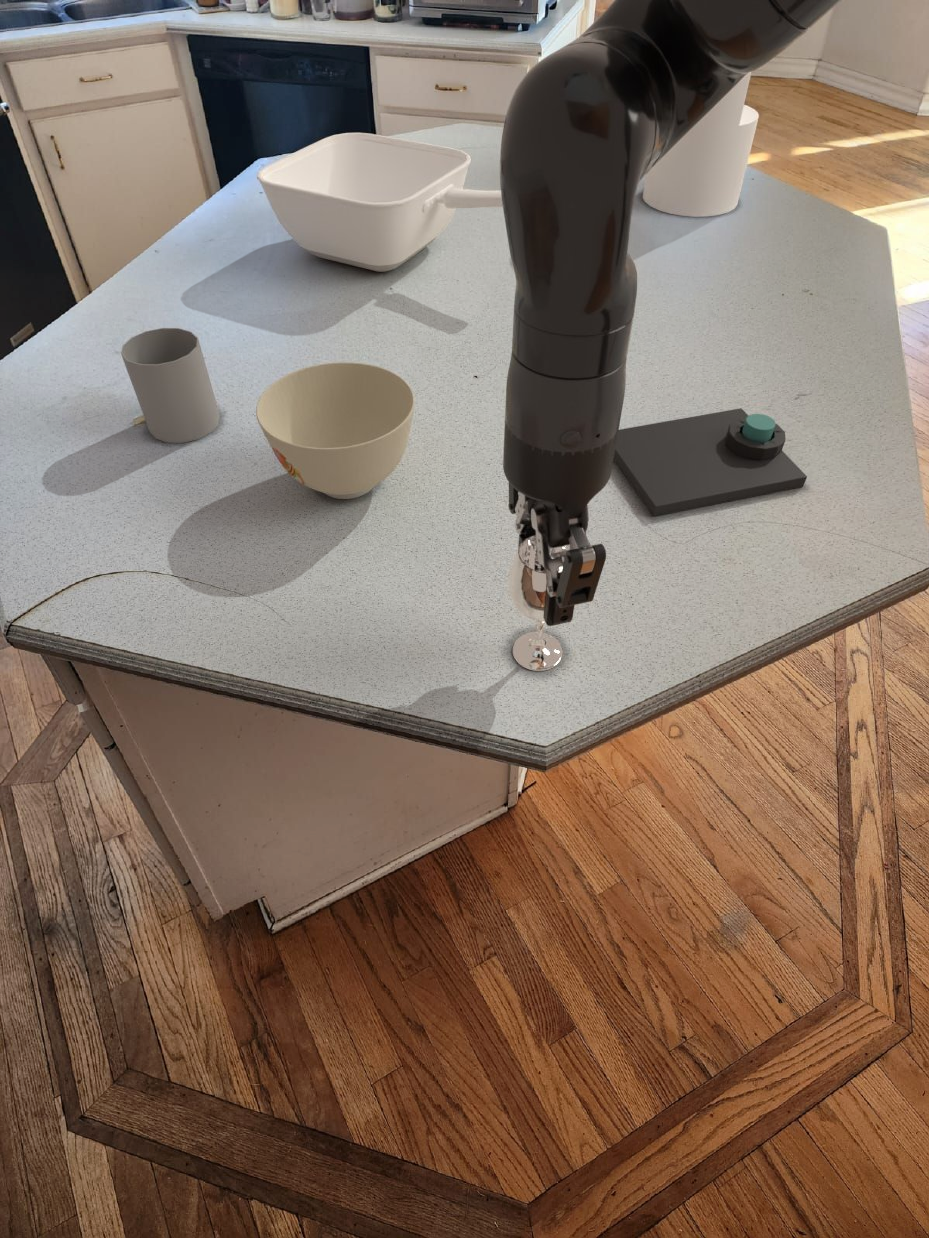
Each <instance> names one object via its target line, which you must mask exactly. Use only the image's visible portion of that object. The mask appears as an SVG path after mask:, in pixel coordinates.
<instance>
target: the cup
mask: <svg viewBox="0 0 929 1238" xmlns="http://www.w3.org/2000/svg"><path fill="white" fill-rule="evenodd" d="M120 355H121V358H122V360H123V363H124V366H125V368H126V372H127V374H128V377H129V379H130V383H131V385H132V389H133V391H134V393H135V396H136V399H137V402H138V404H139V407H140V410H141V412H142V415H143V417H144V421H145V422H146V426H147V429H148V431H149V433H150V434H151V436H152V437H153V438H154V439H156V440H158V441H161V442H165V443H167V444H184V443H188V442H193V441H197V440H201V439H202V438H204V437H206V436H208V435H210V434H211V433H213V432H214V431H215V429H216V428H217V427H218V426H219V425H220V422H221V421H220V419H221V418H220V417H221V416H220V411H219V407H218V404H217V400H216V397H215V392H214V389H213V386H212V382H211V378H210V374H209V372H208V369H207V364H206V360H205V357H204V354H203V351H202V346H201V343H200V340H199V337H197V336H196V335H195V333H193V332H192V331H191V330H186V329H183V328H180V327H161V328H156V329H155V328H154V329H150V330H146V331H143V332H141V333H139V334H136V335H134V336H132V337H130V339H128V340H127V341H126V342H125V343H123V345H122V347H121V352H120Z"/></svg>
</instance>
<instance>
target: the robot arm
mask: <svg viewBox="0 0 929 1238" xmlns="http://www.w3.org/2000/svg"><path fill="white" fill-rule="evenodd" d="M841 1H842V0H613V2H611V4H610V5H608V7H607V8H606V9H605V10H604V11H603V12H602V14H600V16H598V17H597V19H595V21H594V22H593V23H592V24H591V25H590V26H589V27H588V28H587V29H585V31H584V32H583V33H582V34H581V35H580V36H579V37H577V38H575V39H573V40H572V41H571V42H569V43H567V44H566V45H564V46H562V47H561V48H559V49H558V50H556V51H553V52H552V53H550V54H549V55H547V56H545V57H544V58H543V59H541V60H540V61H538V62H537V63H536V64H534V65H533V66H532V68H530V69H529V70H528V72H526V74H525V75H524V77H523V78H522V79H521V81H520V82H519V83H518V85H517V87H516V88H515V91H514V93H513V95H512V97H511V99H510V102H509V105H508V106H507V107H508V108H507V111H506V115H505V119H504V123H503V128H502V135H501V143H500V152H499V153H500V154H499V187H500V190H501V197H502V204H503V207H502V211H503V216H504V217H503V218H504V223H505V229H506V237H507V243H508V249H509V255H510V260H511V265H512V268H513V271H514V276H515V289H514V300H513V301H514V302H513V319H512V340H511V341H512V342H511V355H510V361H509V366H508V369H507V377H506V387H505V405H504V407H505V409H504V434H503V436H504V437H503V454H502V455H503V456H502V467H503V469H502V470H503V473H504V476H505V478H506V479H507V481H508V506H507V507H508V510H509V511H510V514H511V515H516V518H515V521H514V522H515V523H514V528H515V530H516V532H517V534H518V545H517V546H518V547H517V549H518V548H519V546H520V544H521V543H522V542H523V541H524V540H525V539H526V538H528V537H530V536H532V535H535V534H536V541H537V552H538V561H539V563H540V564H541V565H542V566H543V567H544V568H545V570H546V583H547V589H546V598H545V607H544V616H543V618H544V620H545V624H546V626H547V627H553V626H558V625H562V624H567V623H571V622H572V620H573V617H574V610H575V606H577V605H582V604H586V603H590V602H593V601H594V597H595V594H596V592H597V589H598V584H599V582H600V579H601V575H602V572H603V570H604V566H605V563H606V559H607V551H606V548H605V546H604V544H603V543H597V544H593V545H591V542H590V540H589V538H588V536H587V531H588V528H589V520H590V519H589V517H590V516H589V505H588V504H589V503H590V502H591V501H592V500H593V499H594V497H596V496H597V495H598V494H599V493H600V492H601V491H603V489H604V488H605V487H606V486H607V484H608V483H609V482H610V479H611V475H612V470H613V466H614V465H613V464H614V453H615V448H616V442H617V436H618V430H620V424H621V419H622V412H623V407H624V400H625V395H626V385H627V384H626V383H627V372H626V371H627V360H628V352H629V346H630V340H631V336H632V335H631V334H632V330H633V324H634V317H635V309H636V303H637V294H638V272H637V271H638V270H637V268H636V264H635V262H634V260H633V258H632V256H631V255H630V254H629V253H628V250H629V243H630V242H629V240H630V232H631V231H630V230H631V223H632V222H631V221H632V215H633V214H632V213H633V208H634V203H635V198H636V195H637V191H638V187H639V183H640V182H641V181H642V179H644V177H646V174H647V173H648V172H649V171H650V170H651V169H652V167H653V166H654V165H655V164H656V163H657V162H658V161H659V160H660V159H661V158H662V157H663V156H664V155H665V154H666V153H667V152H668V151H669V150H670V149H671V148H672V147H673V146H674V145H675V144H676V143H677V142H678V141H679V140H680V139H681V138H682V137H683V136H684V135H685V134H686V133H687V132H688V131H689V130H691V129H692V128H693V127H694V126H695V125H696V124H697V123H698V122H699V121H700V120H701V119H702V118H703V117H704V116H705V115H706V114H707V113H708V112H709V111H710V110H711V109H712V108H713V107H714V106H715V105H716V104H717V103H718V102H719V101H720V100H721V99H722V98H723V97H724V96H725V95H726V94H727V93H728V92H729V91H730V90H731V89H732V88H733V87H734V86H735V85H736V84H737V83H738V82H739V81H740V80H741V79H742V78H743V77H744V76H745V75H746V74H747V73H749V72H751V73H752V72H755V71H756V70H758V69H760V68H761V67H763V66H765V65H767V64H768V63H769V62H770V61H772V60H773V59H774V58H776V57H777V56H779V55H780V54H781V53H783V52H784V51H785V50H786V49H788V48H789V47H790V46H791V45H793V44H794V43H795V42H796V41H798V40H799V39H800V38H801V37H802V36H803V35H804V34H806V33H807V31H809V29H811V28H812V27H813V26H814V25H815V24H816V23H817V22H819V21H820V20H821V19H822V18H823V17H824V16H825V15H827V13H829V12H830V11H831V10H832V9H833V8H834V7H836V6H837V5H838V4H839V3H841ZM566 545H570V550H566V551H562V552H557V553H552V554H549V547H551V548H556V547H561V546H566ZM559 567H562V571H561V575H560V579H557V569H558V568H559Z"/></svg>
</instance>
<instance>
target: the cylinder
mask: <svg viewBox="0 0 929 1238" xmlns="http://www.w3.org/2000/svg"><path fill="white" fill-rule="evenodd" d="M751 77H752V72H749V73H747V74H746V75H745V76H744V77H743V78H742V79H741V80H740V81H739V82H738V83H737V84H736V85H735V86H734V87H733V88H732V89H731V90H730V91H729V92H728V93H727V94H726V95H725V96H724V97H723V98H722V99H721V100H720V101H719V102H718V103H717V104H716V105H715V106H714V107H713V108H712V109H711V110H710V111H709V112H708V113H707V114H706V115H705V116H704V117H703V118H702V119H701V120H700V121H699V122H698V123H697V124H696V125H695V126H694V127H693V128H692V129H691V130H689V131H688V132H687V133H686V134H685V135H684V136H683V137H682V138H681V139H680V140H679V141H678V142H677V143H676V144H675V145H674V146H673V147H672V148H671V149H670V150H669V151H668V152H667V153H666V154H665V155H664V156H663V157H662V158H661V159H660V160H659V161H658V162H657V163H656V164H655V165H654V166H653V167H652V169H651V170H650V171H649V172H648V173H647V174H646V175H645V181H644V185H643V193H642V199H643V201H644V203H646V204H647V205H648V206H649V207H651V208H653V209H655V210H658V211H659V212H662V213H663V212H664V213H666V214H670V215H676V216H680V217H691V218H692V217H693V218H699V217H704V218H705V217H715V216H721V215H723V214H728V213H730V212H731V211H733V210H735V209H736V208H737V206H738V203H739V199H740V195H741V191H742V187H743V183H744V179H745V175H746V171H747V167H748V162H749V158H750V155H751V150H752V147H753V144H754V143H753V142H754V138H755V133H756V130H757V126H758V122H759V118H760V115H759V112H758V111H757V110H756V109H754V108H753V107H750V106H749V105H747V104H745V102H746V98H747V93H748V90H749V86H750V80H751Z"/></svg>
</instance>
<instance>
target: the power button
mask: <svg viewBox="0 0 929 1238" xmlns="http://www.w3.org/2000/svg"><path fill="white" fill-rule="evenodd" d="M775 423H776V421H775V419H774V418H773V417H771V416H770V415H767V414H763V413H751V414H750V415H749V414H748V417H747V418H746V420H745V424H744V427H743V430H742V435H743V436H744V438H747V439H749V440H751V441H755V442H767V441H769V440H770V439H771V436H772V434H773V431H774V428H775Z"/></svg>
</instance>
